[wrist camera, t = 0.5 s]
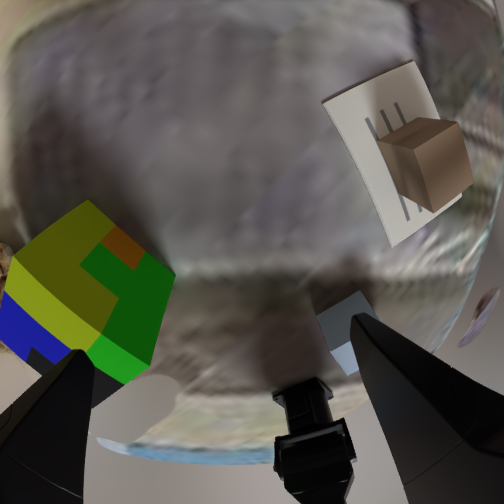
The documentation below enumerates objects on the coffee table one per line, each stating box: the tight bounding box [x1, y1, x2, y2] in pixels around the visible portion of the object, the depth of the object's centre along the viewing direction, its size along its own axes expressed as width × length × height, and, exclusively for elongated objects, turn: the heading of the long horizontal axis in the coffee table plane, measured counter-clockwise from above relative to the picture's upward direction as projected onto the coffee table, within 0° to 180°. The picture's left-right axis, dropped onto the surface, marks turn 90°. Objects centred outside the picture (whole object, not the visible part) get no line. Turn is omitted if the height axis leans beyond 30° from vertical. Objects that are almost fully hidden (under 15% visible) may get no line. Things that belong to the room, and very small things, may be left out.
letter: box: [322, 61, 462, 247], centre depth 19 cm, size 14×10×1 cm
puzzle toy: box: [0, 200, 176, 408], centre depth 18 cm, size 10×10×10 cm
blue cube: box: [316, 290, 380, 375], centre depth 24 cm, size 5×5×5 cm
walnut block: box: [377, 117, 474, 214], centre depth 16 cm, size 5×5×5 cm
